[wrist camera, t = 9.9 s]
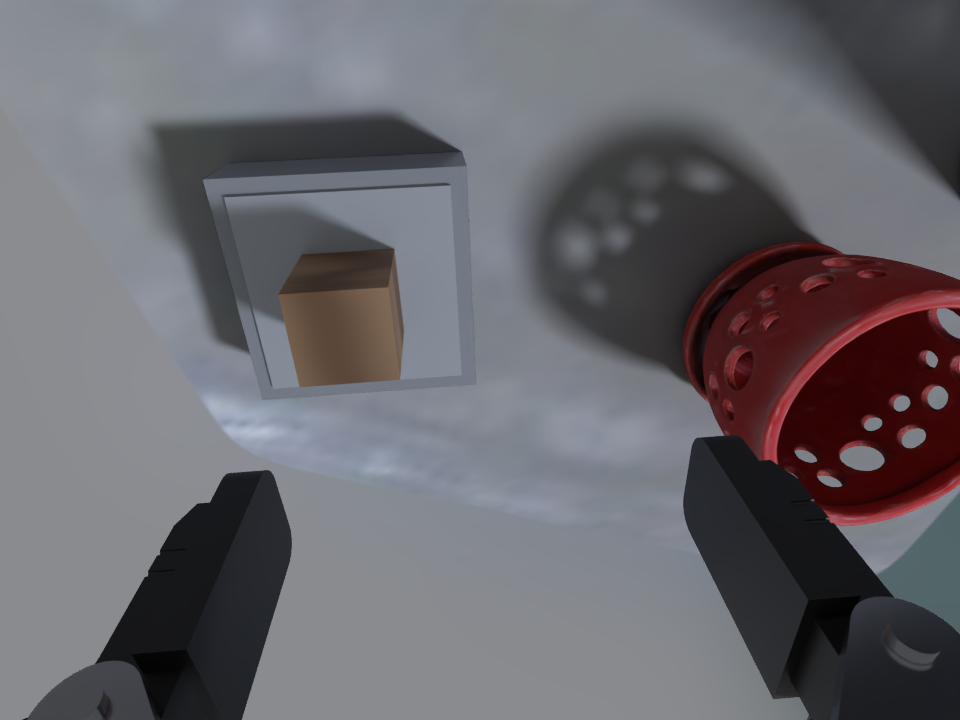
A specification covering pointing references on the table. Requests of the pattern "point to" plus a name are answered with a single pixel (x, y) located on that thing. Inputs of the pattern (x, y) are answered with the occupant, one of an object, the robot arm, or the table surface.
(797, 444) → the plant pot
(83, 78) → the table surface
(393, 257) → the walnut cube
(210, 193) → the pedestal
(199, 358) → the table surface
